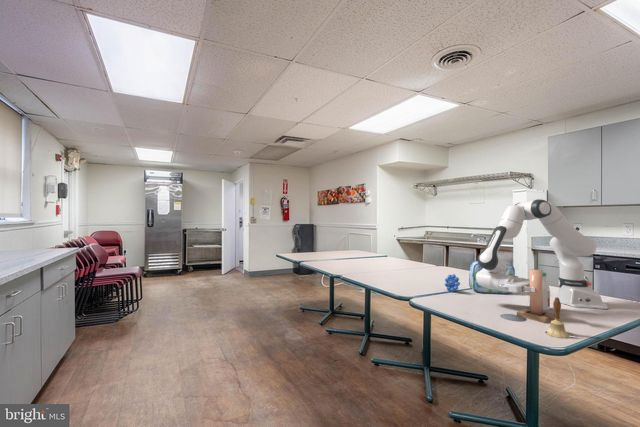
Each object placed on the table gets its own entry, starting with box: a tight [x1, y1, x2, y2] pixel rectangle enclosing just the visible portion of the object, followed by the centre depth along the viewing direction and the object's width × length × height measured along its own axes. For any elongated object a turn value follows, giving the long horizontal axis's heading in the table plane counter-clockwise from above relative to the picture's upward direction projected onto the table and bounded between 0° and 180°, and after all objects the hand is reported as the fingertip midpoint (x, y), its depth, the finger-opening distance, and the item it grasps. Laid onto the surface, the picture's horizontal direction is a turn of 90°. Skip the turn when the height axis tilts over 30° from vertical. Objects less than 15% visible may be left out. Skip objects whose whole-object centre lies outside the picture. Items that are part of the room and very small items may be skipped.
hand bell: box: [544, 296, 570, 339], centre depth 131 cm, size 8×8×16 cm
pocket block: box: [516, 307, 555, 324], centre depth 150 cm, size 12×12×3 cm
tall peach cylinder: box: [529, 269, 544, 316], centre depth 151 cm, size 5×5×22 cm
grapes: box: [444, 273, 461, 293], centre depth 203 cm, size 12×7×12 cm, turn 26°
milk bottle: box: [543, 271, 551, 311], centre depth 166 cm, size 8×8×20 cm
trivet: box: [499, 313, 528, 323], centre depth 150 cm, size 11×11×1 cm
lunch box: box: [468, 260, 516, 295], centre depth 202 cm, size 26×11×21 cm, turn 81°
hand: (538, 289), depth 150 cm, fingers closed on tall peach cylinder, 5 cm apart
